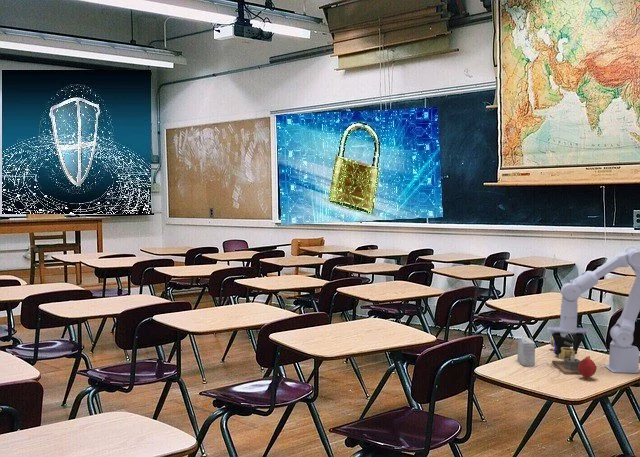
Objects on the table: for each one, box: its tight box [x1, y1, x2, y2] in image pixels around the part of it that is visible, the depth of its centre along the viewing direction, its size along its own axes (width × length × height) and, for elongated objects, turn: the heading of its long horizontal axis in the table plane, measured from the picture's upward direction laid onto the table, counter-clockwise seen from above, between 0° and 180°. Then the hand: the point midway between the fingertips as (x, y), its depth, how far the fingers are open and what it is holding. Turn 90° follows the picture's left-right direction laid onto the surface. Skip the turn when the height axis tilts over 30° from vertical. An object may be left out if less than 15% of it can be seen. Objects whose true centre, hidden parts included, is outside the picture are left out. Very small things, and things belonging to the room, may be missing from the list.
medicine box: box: [516, 337, 536, 367], centre depth 272 cm, size 8×4×9 cm, turn 179°
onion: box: [578, 355, 597, 380], centre depth 254 cm, size 6×6×8 cm
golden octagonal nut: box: [558, 347, 576, 361], centre depth 269 cm, size 5×5×4 cm
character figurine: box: [549, 334, 573, 355], centre depth 286 cm, size 8×7×15 cm
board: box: [551, 355, 582, 376], centre depth 266 cm, size 10×14×6 cm
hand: (566, 353), depth 269 cm, fingers closed on golden octagonal nut, 5 cm apart
